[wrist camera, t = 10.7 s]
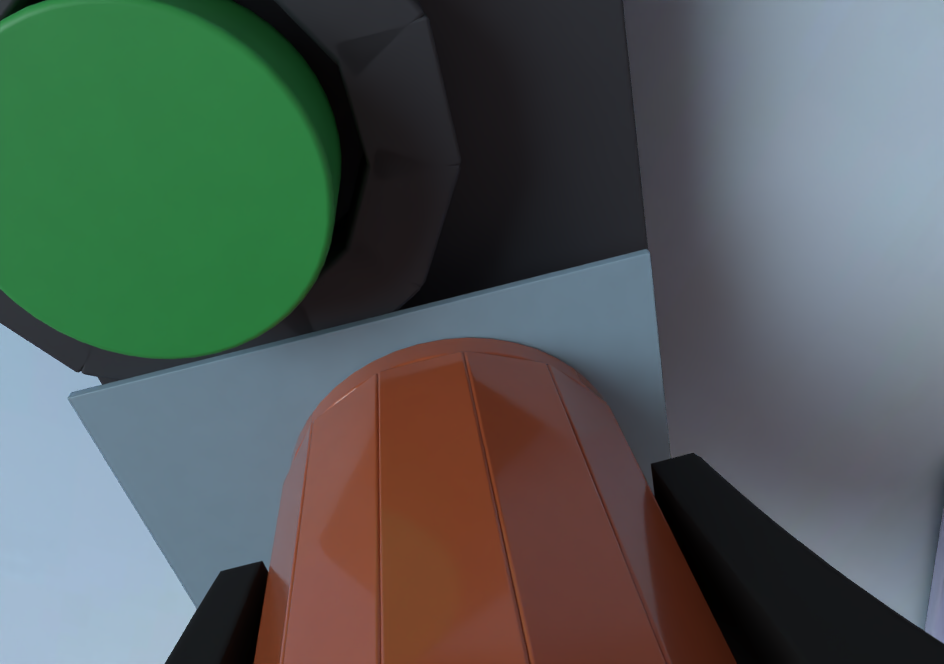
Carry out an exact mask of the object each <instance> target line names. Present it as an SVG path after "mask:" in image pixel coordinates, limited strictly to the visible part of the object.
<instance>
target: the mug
mask: <svg viewBox="0 0 944 664" xmlns="http://www.w3.org/2000/svg"><path fill="white" fill-rule="evenodd" d="M254 664H738V663H737V661H736V659H735V657H734V655H733V653H732V651H731V649H730V647H729V645H728V643H727V641H726V639H725V637H724V635H723V633H722V631H721V629H720V627H719V625H718V623H717V621H716V619H715V617H714V615H713V613H712V611H711V609H710V607H709V605H708V603H707V601H706V599H705V597H704V595H703V593H702V591H701V589H700V587H699V585H698V583H697V581H696V579H695V577H694V575H693V573H692V571H691V569H690V567H689V565H688V563H687V561H686V559H685V557H684V555H683V553H682V551H681V549H680V547H679V545H678V543H677V541H676V539H675V537H674V535H673V533H672V531H671V529H670V527H669V525H668V523H667V520H666V518H665V516H664V514H663V512H662V510H661V508H660V506H659V504H658V502H657V500H656V498H655V496H654V494H653V492H652V490H651V488H650V486H649V484H648V482H647V480H646V478H645V476H644V474H643V472H642V470H641V468H640V466H639V464H638V462H637V460H636V458H635V456H634V454H633V452H632V450H631V448H630V446H629V444H628V442H627V440H626V438H625V436H624V434H623V432H622V430H621V428H620V426H619V424H618V422H617V420H616V418H615V416H614V414H613V412H612V410H611V408H610V406H609V405H608V404H607V403H606V402H605V400H604V399H603V397H602V395H601V394H600V393H599V392H598V391H597V390H596V388H595V387H594V386H593V385H592V384H591V383H590V382H589V381H588V380H587V379H586V378H585V377H584V376H582V375H581V374H580V373H579V372H578V371H576V370H575V369H574V368H572V367H571V366H569V365H567V364H566V363H564V362H563V361H561V360H559V359H558V358H556V357H554V356H551V355H549V354H547V353H545V352H542V351H540V350H538V349H535V348H532V347H529V346H525V345H522V344H518V343H515V342H510V341H504V340H497V339H491V338H468V337H466V338H452V339H441V340H436V341H431V342H425V343H420V344H416V345H413V346H410V347H407V348H403V349H400V350H397V351H394V352H392V353H390V354H388V355H385V356H383V357H381V358H379V359H376V360H374V361H372V362H371V363H369V364H367V365H366V366H364V367H362V368H361V369H359V370H357V371H356V372H354V373H353V374H351V375H350V376H349V377H347V378H346V379H345V380H344V381H342V382H341V383H340V384H338V385H337V386H336V387H335V388H334V389H333V390H332V391H331V392H330V393H329V394H328V395H327V396H326V397H325V398H324V399H323V400H322V401H321V402H320V403H319V405H318V406H317V407H316V409H315V410H314V411H313V413H312V414H311V415H310V417H309V418H308V420H307V421H306V423H305V425H304V427H303V429H302V431H301V433H300V435H299V437H298V439H297V442H296V445H295V448H294V451H293V454H292V460H291V466H290V470H289V472H288V474H287V476H286V478H285V480H284V483H283V488H282V494H281V500H280V506H279V512H278V518H277V524H276V531H275V537H274V543H273V549H272V555H271V561H270V567H269V573H268V579H267V585H266V591H265V598H264V604H263V610H262V616H261V622H260V628H259V634H258V640H257V646H256V652H255V659H254Z"/></svg>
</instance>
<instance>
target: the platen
mask: <svg viewBox="0 0 944 664" xmlns="http://www.w3.org/2000/svg"><path fill="white" fill-rule="evenodd" d="M466 337H468V338H491V339H497V340H504V341H510V342H515V343H518V344H522V345H525V346H529V347H532V348H535V349H538V350H540V351H542V352H545V353H547V354H549V355H551V356H554V357H556V358H558V359H559V360H561V361H563V362H564V363H566V364H567V365H569V366H571V367H572V368H574V369H575V370H576V371H578V372H579V373H580V374H581V375H582V376H584V377H585V378H586V379H587V380H588V381H589V382H590V383H591V384H592V385H593V386H594V387H595V388H596V390H597V391H598V392H599V393H600V394H601V395H602V397H603V399H604V400H605V402H606V403H607V404H608V405H609V406H610V408H611V410H612V412H613V414H614V416H615V418H616V420H617V422H618V424H619V426H620V428H621V430H622V432H623V434H624V436H625V438H626V440H627V442H628V444H629V446H630V448H631V450H632V452H633V454H634V456H635V458H636V460H637V462H638V464H639V466H640V468H641V470H642V472H643V474H644V476H645V478H646V480H647V482H648V484H649V486H650V488H651V490H652V492H653V494H654V487H653V479H652V470H651V463H655V462H659V461H663V460H667V459H671V457H670V447H669V437H668V427H667V417H666V407H665V397H664V387H663V376H662V366H661V356H660V346H659V336H658V326H657V316H656V306H655V296H654V286H653V276H652V266H651V256H650V252H649V251H648V250H647V249H644V250H640V251H636V252H632V253H628V254H624V255H620V256H616V257H612V258H608V259H604V260H600V261H596V262H592V263H588V264H584V265H580V266H576V267H572V268H568V269H564V270H560V271H556V272H552V273H548V274H544V275H540V276H536V277H532V278H528V279H524V280H520V281H516V282H512V283H508V284H504V285H500V286H496V287H492V288H488V289H484V290H480V291H476V292H472V293H468V294H464V295H460V296H456V297H452V298H448V299H444V300H440V301H436V302H432V303H428V304H424V305H420V306H416V307H412V308H408V309H404V310H400V311H396V312H392V313H388V314H384V315H380V316H376V317H372V318H368V319H364V320H360V321H356V322H352V323H348V324H344V325H340V326H336V327H332V328H328V329H324V330H320V331H316V332H312V333H308V334H304V335H300V336H296V337H292V338H288V339H284V340H280V341H276V342H272V343H268V344H264V345H260V346H256V347H252V348H248V349H244V350H240V351H236V352H232V353H228V354H223V355H219V356H215V357H211V358H207V359H203V360H199V361H195V362H191V363H187V364H183V365H179V366H175V367H171V368H167V369H163V370H159V371H155V372H151V373H147V374H143V375H139V376H135V377H131V378H127V379H123V380H119V381H115V382H111V383H107V384H103V385H99V386H95V387H91V388H87V389H83V390H79V391H75V392H72V393H70V395H69V397H68V400H69V402H70V404H71V405H72V407H73V408H74V410H75V412H76V413H77V415H78V417H79V418H80V420H81V421H82V423H83V425H84V426H85V428H86V430H87V431H88V433H89V434H90V436H91V438H92V439H93V441H94V443H95V444H96V446H97V447H98V449H99V451H100V452H101V454H102V456H103V457H104V459H105V460H106V462H107V464H108V465H109V467H110V469H111V470H112V472H113V473H114V475H115V477H116V478H117V480H118V482H119V483H120V485H121V486H122V488H123V490H124V491H125V493H126V495H127V496H128V498H129V499H130V501H131V503H132V504H133V506H134V508H135V509H136V511H137V512H138V514H139V516H140V517H141V519H142V521H143V522H144V524H145V525H146V527H147V529H148V530H149V532H150V534H151V535H152V537H153V538H154V540H155V542H156V543H157V545H158V547H159V548H160V550H161V551H162V553H163V555H164V556H165V558H166V560H167V561H168V563H169V564H170V566H171V568H172V569H173V571H174V573H175V574H176V576H177V577H178V579H179V581H180V582H181V584H182V586H183V587H184V589H185V590H186V592H187V594H188V595H189V597H190V599H191V600H192V602H193V603H194V605H195V607H196V608H197V609H198V607H199V605H200V604H201V602H202V600H203V599H204V597H205V595H206V594H207V592H208V590H209V589H210V587H211V586H212V584H213V582H214V581H215V579H216V578H217V576H218V574H219V573H220V571H223V570H227V569H231V568H235V567H239V566H243V565H247V564H251V563H255V562H259V561H263V563H264V564H265V566H266V568H267V570H268V572H269V567H270V561H271V555H272V549H273V543H274V537H275V531H276V524H277V518H278V512H279V506H280V500H281V494H282V488H283V483H284V480H285V478H286V476H287V474H288V472H289V470H290V466H291V460H292V454H293V451H294V448H295V445H296V442H297V439H298V437H299V435H300V433H301V431H302V429H303V427H304V425H305V423H306V421H307V420H308V418H309V417H310V415H311V414H312V413H313V411H314V410H315V409H316V407H317V406H318V405H319V403H320V402H321V401H322V400H323V399H324V398H325V397H326V396H327V395H328V394H329V393H330V392H331V391H332V390H333V389H334V388H335V387H336V386H337V385H338V384H340V383H341V382H342V381H344V380H345V379H346V378H347V377H349V376H350V375H351V374H353V373H354V372H356V371H357V370H359V369H361V368H362V367H364V366H366V365H367V364H369V363H371V362H372V361H374V360H376V359H379V358H381V357H383V356H385V355H388V354H390V353H392V352H394V351H397V350H400V349H403V348H407V347H410V346H413V345H416V344H420V343H425V342H431V341H436V340H441V339H452V338H466Z"/></svg>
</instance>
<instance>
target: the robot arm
mask: <svg viewBox="0 0 944 664" xmlns="http://www.w3.org/2000/svg"><path fill="white" fill-rule="evenodd" d="M651 470H652V479H653V487H654V496H655V498H656V500H657V502H658V504H659V506H660V508H661V510H662V512H663V514H664V516H665V518H666V520H667V523H668V525H669V527H670V529H671V531H672V533H673V535H674V537H675V539H676V541H677V543H678V545H679V547H680V549H681V551H682V553H683V555H684V557H685V559H686V561H687V563H688V565H689V567H690V569H691V571H692V573H693V575H694V577H695V579H696V581H697V583H698V585H699V587H700V589H701V591H702V593H703V595H704V597H705V599H706V601H707V603H708V605H709V607H710V609H711V611H712V613H713V615H714V617H715V619H716V621H717V623H718V625H719V627H720V629H721V631H722V633H723V635H724V637H725V639H726V641H727V643H728V645H729V647H730V649H731V651H732V653H733V655H734V657H735V659H736V661H737V663H738V664H944V508H943V514H942V521H941V527H940V534H939V540H938V546H937V553H936V559H935V566H934V572H933V578H932V585H931V591H930V598H929V604H928V611H927V617H926V623H925V630H922V629H921V628H919V627H918V626H916V625H915V624H913V623H912V622H910V621H909V620H907V619H906V618H904V617H903V616H901V615H900V614H898V613H897V612H895V611H894V610H892V609H891V608H889V607H888V606H887V605H885V604H884V603H882V602H881V601H879V600H878V599H877V598H875V597H874V596H872V595H871V594H869V593H868V592H867V591H865V590H864V589H862V588H861V587H859V586H858V585H857V584H855V583H854V582H852V581H851V580H850V579H848V578H847V577H846V576H844V575H843V574H842V573H840V572H839V571H838V570H836V569H835V568H833V567H832V566H831V565H829V564H828V563H827V562H825V561H824V560H823V559H822V558H820V557H819V556H818V555H816V554H815V553H814V552H813V551H811V550H810V549H809V548H807V547H806V546H805V545H804V544H802V543H801V542H800V541H798V540H797V539H796V538H795V537H793V536H792V535H791V534H789V533H788V532H787V531H786V530H784V529H783V528H782V527H781V526H779V525H778V524H777V523H776V522H774V521H773V520H772V519H771V518H770V517H768V516H767V515H766V514H765V513H764V512H762V511H761V510H760V509H759V508H758V507H756V506H755V505H754V504H753V503H752V502H751V501H749V500H748V499H747V498H746V497H745V496H743V495H742V494H741V493H740V492H739V491H738V490H737V489H735V488H734V487H733V486H732V485H731V484H730V483H729V482H727V481H726V480H725V479H724V478H723V477H722V476H721V475H720V474H719V473H717V472H716V471H715V470H714V469H713V468H712V467H711V466H710V465H709V464H708V463H706V462H705V461H704V460H703V459H702V458H701V457H699V456H697V455H696V454H694V453H691V454H687V455H683V456H679V457H675V458H671V459H667V460H663V461H659V462H655V463H651ZM268 573H269V572H268V570H267V568H266V566H265V564H264V563H263V561H259V562H255V563H251V564H247V565H243V566H239V567H235V568H231V569H227V570H223V571H220V573H219V574H218V576H217V578H216V579H215V581H214V582H213V584H212V586H211V587H210V589H209V590H208V592H207V594H206V595H205V597H204V599H203V600H202V602H201V604H200V605H199V607H198V609H197V610H196V612H195V614H194V615H193V617H192V619H191V620H190V622H189V624H188V625H187V627H186V629H185V631H184V632H183V634H182V636H181V637H180V639H179V641H178V642H177V644H176V646H175V647H174V649H173V651H172V652H171V654H170V656H169V657H168V659H167V661H166V662H165V664H254V659H255V652H256V646H257V640H258V634H259V628H260V622H261V616H262V610H263V604H264V598H265V591H266V585H267V579H268Z"/></svg>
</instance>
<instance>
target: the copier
mask: <svg viewBox="0 0 944 664" xmlns="http://www.w3.org/2000/svg"><path fill="white" fill-rule="evenodd" d="M42 1H45V0H0V21H1V20H2V19H4V18H6V17H8V16H10V15H12V14H14V13H16V12H17V11H19V10H21V9H23V8H25V7H27V6H30V5H33V4H36V3H39V2H42ZM232 1H234V2H236V3H238V4H240V5H242V6H243V7H245V8H247V9H249V10H251V11H252V12H254V13H255V14H256V15H258V16H259V17H261V18H262V19H264V20H265V21H266V22H268V23H269V24H271V25H272V26H273V27H274V28H275V29H276V30H277V31H278V32H280V33H281V34H282V35H283V36H284V37H285V38H286V39H287V40H288V41H289V42H290V43H291V44H292V45H293V46H294V47H295V49H296V50H297V51H298V52H299V53H300V54H301V55H302V57H303V58H304V59H305V61H306V62H307V63H308V65H309V66H310V68H311V69H312V71H313V72H314V74H315V75H316V76H317V78H318V80H319V82H320V84H321V86H322V88H323V90H324V92H325V93H326V95H327V98H328V100H329V103H330V106H331V108H332V111H333V114H334V116H335V120H336V124H337V129H338V133H339V137H340V147H341V156H342V158H341V180H340V187H339V194H338V202H337V209H336V216H335V223H334V229H333V235H332V241H331V245H330V248H329V252H328V255H327V258H326V261H325V264H324V266H323V268H322V270H321V272H320V274H319V276H318V278H317V280H316V282H315V284H314V285H313V287H312V288H311V289H310V291H309V292H308V294H307V295H306V297H305V298H304V299H303V301H302V302H301V303H300V304H299V305H298V306H297V307H296V308H295V309H294V310H293V311H292V313H291V314H289V315H288V316H287V317H286V318H285V319H283V320H282V321H281V322H280V323H279V324H277V325H276V326H275V327H273V328H272V329H270V330H269V331H267V332H265V333H264V334H262V335H260V336H259V337H257V338H255V339H253V340H251V341H248V342H246V343H244V344H242V345H240V346H238V347H235V348H232V349H229V350H225V351H222V352H219V353H216V354H211V355H205V356H200V357H195V358H182V359H152V358H143V357H136V356H128V355H123V354H119V353H115V352H111V351H107V350H103V349H100V348H97V347H94V346H92V345H89V344H86V343H83V342H80V341H78V340H76V339H74V338H72V337H70V336H67V335H65V334H63V333H61V332H59V331H57V330H55V329H54V328H52V327H50V326H49V325H47V324H45V323H43V322H42V321H40V320H38V319H37V318H35V317H34V316H33V315H31V314H30V313H28V312H27V311H26V310H24V309H23V308H22V307H20V306H19V305H18V304H16V303H15V302H14V301H13V300H12V299H11V298H10V297H8V296H7V295H6V294H5V293H4V292H3V291H2V290H1V289H0V323H1V324H3V325H4V326H6V327H7V328H9V329H11V330H12V331H14V332H15V333H17V334H18V335H20V336H21V337H23V338H24V339H26V340H28V341H29V342H31V343H32V344H34V345H35V346H37V347H38V348H40V349H41V350H43V351H45V352H46V353H48V354H49V355H51V356H52V357H54V358H55V359H57V360H58V361H60V362H62V363H63V364H65V365H66V366H68V367H69V368H71V369H72V370H74V371H75V372H80V371H82V373H83V374H86V375H91V376H97V377H98V378H99V380H100V382H101V384H102V385H103V384H107V383H111V382H115V381H119V380H123V379H127V378H131V377H135V376H139V375H143V374H147V373H151V372H155V371H159V370H163V369H167V368H171V367H175V366H179V365H183V364H187V363H191V362H195V361H199V360H203V359H207V358H211V357H215V356H219V355H223V354H228V353H232V352H236V351H240V350H244V349H248V348H252V347H256V346H260V345H264V344H268V343H272V342H276V341H280V340H284V339H288V338H292V337H296V336H300V335H304V334H308V333H312V332H316V331H320V330H324V329H328V328H332V327H336V326H340V325H344V324H348V323H352V322H356V321H360V320H364V319H368V318H372V317H376V316H380V315H384V314H388V313H392V312H396V311H400V310H404V309H408V308H412V307H416V306H420V305H424V304H428V303H432V302H436V301H440V300H444V299H448V298H452V297H456V296H460V295H464V294H468V293H472V292H476V291H480V290H484V289H488V288H492V287H496V286H500V285H504V284H508V283H512V282H516V281H520V280H524V279H528V278H532V277H536V276H540V275H544V274H548V273H552V272H556V271H560V270H564V269H568V268H572V267H576V266H580V265H584V264H588V263H592V262H596V261H600V260H604V259H608V258H612V257H616V256H620V255H624V254H628V253H632V252H636V251H640V250H644V249H647V250H648V245H647V236H646V226H645V216H644V206H643V196H642V186H641V176H640V166H639V156H638V146H637V137H636V127H635V117H634V107H633V97H632V87H631V77H630V67H629V57H628V48H627V38H626V28H625V18H624V8H623V0H232Z"/></svg>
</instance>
